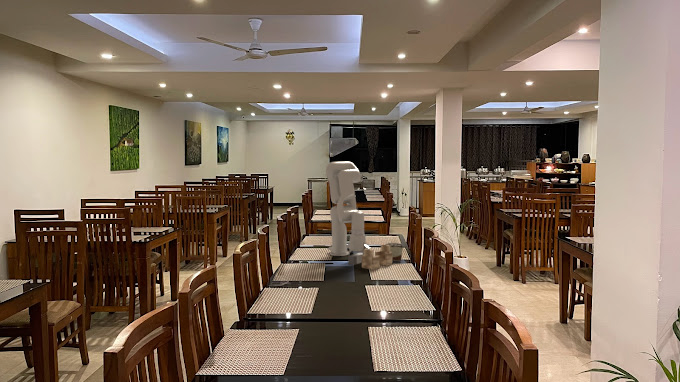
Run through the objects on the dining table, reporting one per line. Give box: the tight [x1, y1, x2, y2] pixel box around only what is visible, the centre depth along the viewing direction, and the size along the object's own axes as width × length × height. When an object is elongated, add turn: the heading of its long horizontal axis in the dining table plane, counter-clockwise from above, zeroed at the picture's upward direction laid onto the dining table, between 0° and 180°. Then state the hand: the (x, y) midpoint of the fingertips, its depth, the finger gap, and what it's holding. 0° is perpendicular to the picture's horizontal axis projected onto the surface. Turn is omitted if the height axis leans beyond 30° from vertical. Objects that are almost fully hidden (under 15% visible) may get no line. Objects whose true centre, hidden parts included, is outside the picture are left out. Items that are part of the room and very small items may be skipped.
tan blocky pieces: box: [361, 243, 393, 271], centre depth 295 cm, size 8×19×11 cm, turn 141°
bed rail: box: [347, 252, 363, 266], centre depth 304 cm, size 4×14×5 cm, turn 141°
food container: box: [384, 242, 404, 262], centre depth 310 cm, size 12×6×10 cm, turn 84°
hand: (358, 260), depth 304 cm, fingers open, 9 cm apart
